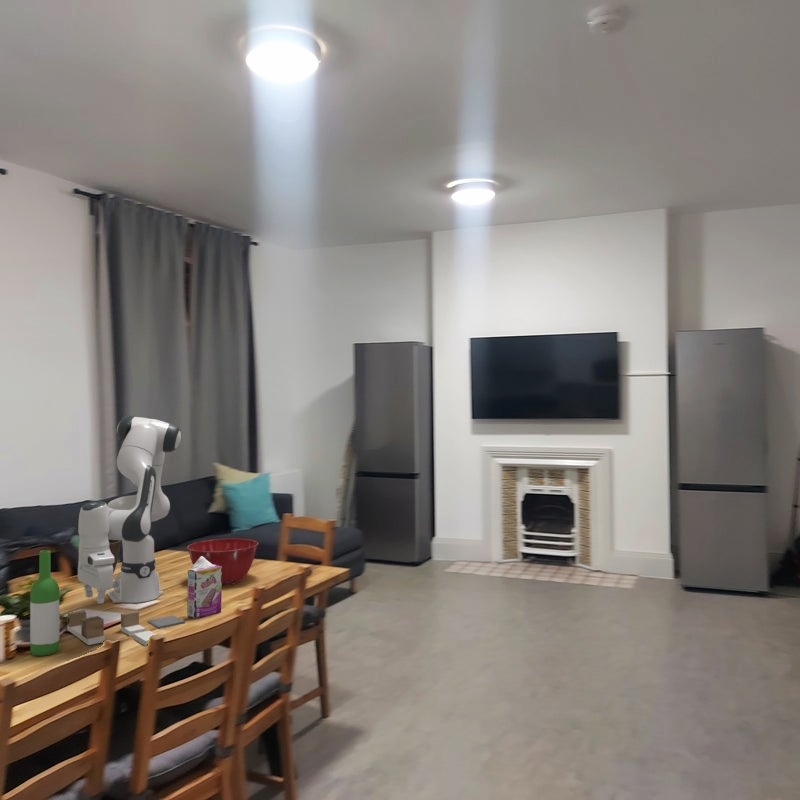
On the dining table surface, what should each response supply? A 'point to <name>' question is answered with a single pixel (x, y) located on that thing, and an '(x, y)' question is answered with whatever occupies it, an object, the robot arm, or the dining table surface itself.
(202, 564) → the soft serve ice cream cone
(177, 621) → the coaster
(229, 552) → the mixing bowl
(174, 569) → the dining table surface
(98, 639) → the strip
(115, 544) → the plant pot
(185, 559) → the dining table surface
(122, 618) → the strip broken
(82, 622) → the cube
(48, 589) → the wine bottle
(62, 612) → the dining table surface
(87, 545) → the robot arm
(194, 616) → the candy bar box
